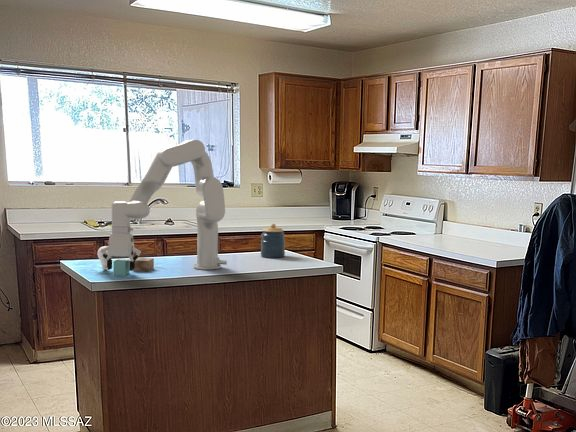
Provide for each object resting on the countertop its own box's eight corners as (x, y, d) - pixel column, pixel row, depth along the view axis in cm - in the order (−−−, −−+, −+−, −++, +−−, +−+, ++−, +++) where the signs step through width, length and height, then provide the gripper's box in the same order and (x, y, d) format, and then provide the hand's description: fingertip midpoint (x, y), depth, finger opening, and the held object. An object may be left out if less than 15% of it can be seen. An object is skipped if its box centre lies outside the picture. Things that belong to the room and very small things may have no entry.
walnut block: (153, 269, 241) (153, 258, 241) (148, 271, 234) (148, 260, 234) (138, 268, 242) (138, 257, 241) (133, 271, 235) (133, 260, 234)
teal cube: (129, 273, 230) (129, 259, 229) (124, 275, 225) (124, 261, 224) (118, 272, 230) (117, 259, 229) (113, 275, 225) (113, 261, 224)
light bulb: (94, 270, 234) (94, 245, 233) (109, 268, 239) (108, 244, 238) (101, 272, 230) (101, 247, 229) (116, 270, 234) (115, 246, 233)
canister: (269, 259, 273) (270, 225, 272) (255, 255, 283) (256, 223, 282) (289, 257, 281) (290, 224, 279) (275, 253, 291) (276, 222, 290)
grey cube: (132, 267, 243) (132, 259, 242) (132, 269, 239) (132, 260, 239) (123, 267, 242) (123, 259, 242) (122, 269, 238) (122, 260, 238)
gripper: (143, 230, 229) (143, 268, 230) (104, 228, 230) (104, 267, 231) (137, 231, 221) (137, 272, 223) (97, 230, 223) (97, 270, 224)
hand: (120, 269), depth 227 cm, fingers open, 9 cm apart
